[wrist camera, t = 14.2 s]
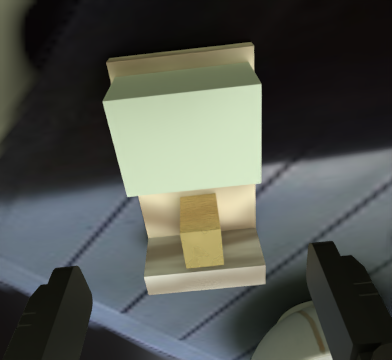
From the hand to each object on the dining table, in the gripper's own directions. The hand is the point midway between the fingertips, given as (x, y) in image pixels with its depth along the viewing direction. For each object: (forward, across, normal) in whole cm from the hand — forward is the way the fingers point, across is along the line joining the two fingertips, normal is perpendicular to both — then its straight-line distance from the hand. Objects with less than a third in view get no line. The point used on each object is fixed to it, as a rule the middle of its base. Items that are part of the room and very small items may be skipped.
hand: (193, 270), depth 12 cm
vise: (+24, +1, +11) cm, 27 cm away
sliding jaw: (+23, +1, +4) cm, 23 cm away
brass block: (+23, +1, +16) cm, 28 cm away
